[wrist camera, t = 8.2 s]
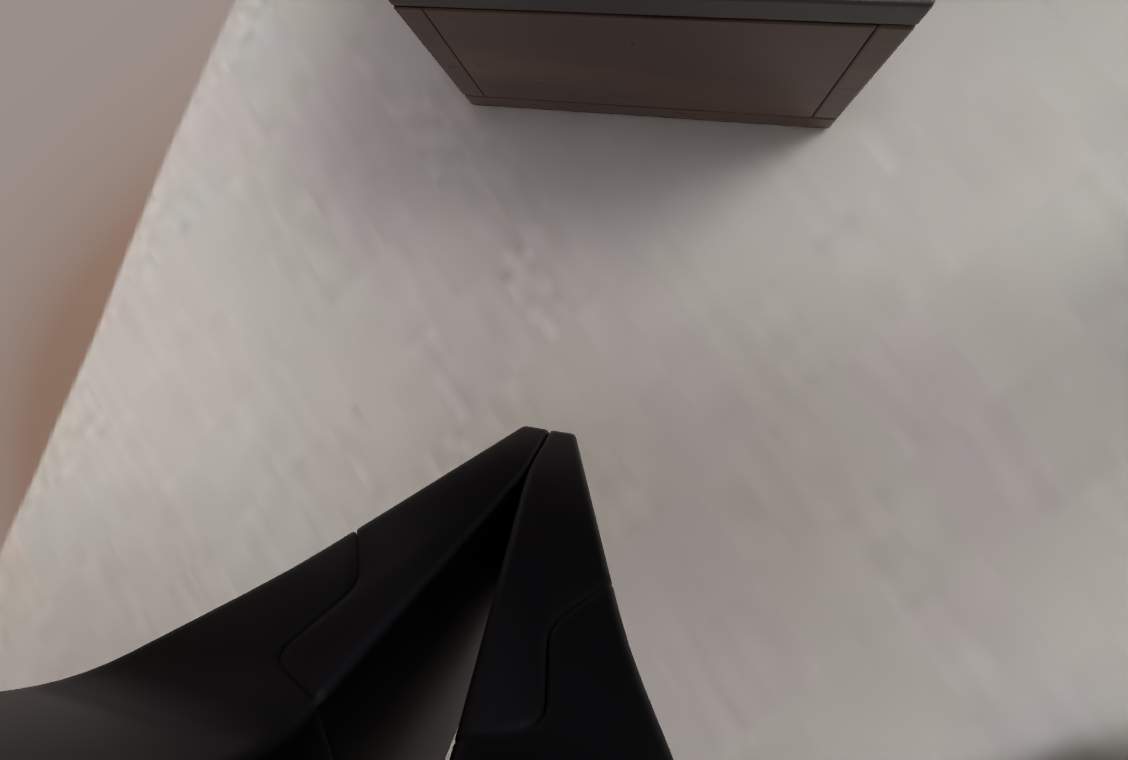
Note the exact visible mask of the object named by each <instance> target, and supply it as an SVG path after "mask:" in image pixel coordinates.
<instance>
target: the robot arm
mask: <svg viewBox="0 0 1128 760" xmlns="http://www.w3.org/2000/svg"><path fill="white" fill-rule="evenodd" d="M611 585H612V582H611V578H610V574H609V570H608V566H607V562H606V558H605V554H604V550H603V546H602V542H601V537H600V533H599V529H598V525H597V521H596V517H595V513H594V509H593V505H592V501H591V497H590V493H589V489H588V485H587V481H586V477H585V472H584V468H583V464H582V460H581V456H580V452H579V448H578V444H577V440H576V437H575V435H574V434H571V433H564V432H558V431H551V432H550V433H549V432H548V431H547V430H545V429H540V428H534V427H528V426H525V427H522V428H520V429H519V430H517V431H515V432H514V433H512V434H510V435H509V436H507V437H506V438H504V439H502V440H501V441H499V442H498V443H496V444H494V445H493V446H491V447H489V448H488V449H486V450H485V451H483V452H481V453H480V454H478V455H477V456H475V457H473V458H472V459H470V460H468V461H467V462H465V463H464V464H462V465H460V466H459V467H457V468H456V469H454V470H452V471H451V472H449V473H447V474H446V475H444V476H443V477H441V478H439V479H438V480H436V481H435V482H433V483H431V484H430V485H428V486H426V487H425V488H423V489H422V490H420V491H418V492H417V493H415V494H414V495H412V496H410V497H409V498H407V499H405V500H404V501H402V502H401V503H399V504H397V505H396V506H394V507H393V508H391V509H389V510H388V511H386V512H384V513H383V514H381V515H380V516H378V517H376V518H375V519H373V520H372V521H370V522H368V523H367V524H365V525H363V526H362V527H360V528H359V529H358V530H357V534H356V533H355V532H352V533H350V534H349V535H347V536H345V537H344V538H342V539H340V540H339V541H337V542H336V543H334V544H332V545H331V546H329V547H327V548H326V549H324V550H322V551H321V552H319V553H317V554H316V555H314V556H312V557H310V558H309V559H307V560H305V561H304V562H302V563H300V564H299V565H297V566H295V567H293V568H292V569H290V570H288V571H286V572H284V573H283V574H281V575H279V576H277V577H275V578H273V579H271V580H269V581H268V582H266V583H264V584H262V585H260V586H258V587H256V588H255V589H253V590H251V591H249V592H247V593H245V594H243V595H241V596H239V597H237V598H236V599H234V600H232V601H230V602H228V603H226V604H224V605H222V606H220V607H218V608H216V609H214V610H212V611H210V612H208V613H206V614H204V615H202V616H201V617H199V618H197V619H195V620H193V621H191V622H189V623H187V624H185V625H183V626H181V627H179V628H177V629H175V630H173V631H171V632H169V633H168V634H166V635H164V636H162V637H160V638H158V639H156V640H154V641H152V642H150V643H148V644H146V645H144V646H142V647H140V648H138V649H136V650H134V651H133V652H131V653H128V654H126V655H124V656H122V657H120V658H118V659H116V660H114V661H112V662H110V663H107V664H105V665H102V666H100V667H97V668H95V669H92V670H90V671H87V672H84V673H81V674H78V675H75V676H72V677H69V678H66V679H63V680H59V681H55V682H51V683H46V684H42V685H38V686H33V687H27V688H21V689H15V690H8V691H1V692H0V760H445V757H446V755H447V752H448V750H449V748H450V745H451V743H452V740H453V738H454V735H455V733H456V730H457V728H458V730H457V734H456V738H455V744H454V746H453V749H452V753H451V756H450V760H673V757H672V755H671V752H670V750H669V747H668V745H667V742H666V740H665V737H664V735H663V732H662V730H661V727H660V725H659V723H658V720H657V718H656V715H655V713H654V710H653V708H652V705H651V703H650V700H649V698H648V695H647V693H646V690H645V688H644V685H643V683H642V680H641V677H640V674H639V672H638V669H637V666H636V663H635V661H634V658H633V655H632V652H631V650H630V647H629V644H628V640H627V637H626V633H625V630H624V627H623V623H622V620H621V616H620V613H619V609H618V605H617V601H616V597H615V593H614V589H613V587H612V586H611Z"/></svg>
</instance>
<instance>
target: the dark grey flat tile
mask: <svg viewBox="0 0 1128 760" xmlns="http://www.w3.org/2000/svg"><path fill="white" fill-rule="evenodd" d="M389 2H390V3H391V4H393V5H396V6H422V7H449V8H475V9H502V10H528V11H555V12H581V13H607V14H634V15H660V16H687V17H713V18H739V19H766V20H792V21H819V22H845V23H871V24H898V25H916V24H918V23H919V22H920V21H921V19H922V18H923V17H924V16H925V15H926V14H927V12H928V11H929V10H930V9H931V8H932V6H933V5H934V3H935V0H389Z"/></svg>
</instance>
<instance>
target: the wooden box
mask: <svg viewBox="0 0 1128 760" xmlns="http://www.w3.org/2000/svg"><path fill="white" fill-rule="evenodd" d="M394 9H395V10H396V11H397V13H398V14H399V15H400V16H401V18H402V19H403V20H404V21H405V22H406V24H407V25H408V26H409V27H410V29H411V30H412V31H413V32H414V34H415V35H416V36H417V37H418V39H419V40H420V41H421V42H422V44H423V45H424V46H425V47H426V49H427V50H428V51H429V52H430V53H431V55H432V56H433V57H434V58H435V60H436V61H437V62H438V63H439V65H440V66H441V67H442V68H443V70H444V71H445V72H446V73H447V75H448V76H449V77H450V78H451V80H452V81H453V82H454V83H455V84H456V86H457V87H458V88H459V89H460V91H461V92H462V93H463V94H464V95H465V96H466V98H467V99H468V100H469V101H470V102H471V103H472V104H479V105H494V106H509V107H524V108H539V109H554V110H569V111H584V112H598V113H613V114H628V115H643V116H658V117H673V118H688V119H703V120H718V121H733V122H747V123H762V124H777V125H792V126H807V127H822V128H829V127H830V126H831V125H832V124H833V122H834V121H835V120H836V119H837V118H838V117H839V115H840V114H841V113H842V112H843V111H844V110H845V108H846V107H847V106H848V105H849V104H850V103H851V101H852V100H853V99H854V98H855V97H856V96H857V94H858V93H859V92H860V91H861V90H862V89H863V87H864V86H865V85H866V84H867V83H868V81H869V80H870V79H871V78H872V77H873V76H874V74H875V73H876V72H877V71H878V70H879V69H880V67H881V66H882V65H883V64H884V63H885V62H886V60H887V59H888V58H889V57H890V56H891V55H892V53H893V52H894V51H895V50H896V49H897V48H898V46H899V45H900V44H901V43H902V42H903V41H904V39H905V38H906V37H907V36H908V35H909V34H910V32H911V31H912V30H913V29H914V27H915V25H898V24H871V23H845V22H819V21H792V20H766V19H739V18H713V17H687V16H660V15H634V14H607V13H581V12H555V11H528V10H502V9H475V8H449V7H422V6H396V5H394Z"/></svg>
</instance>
